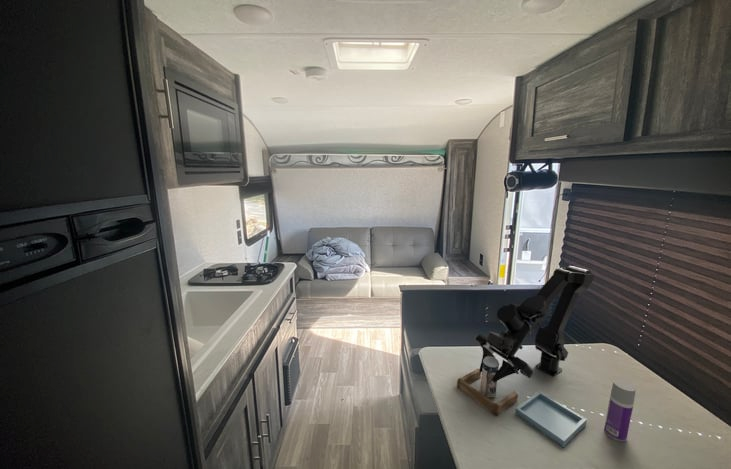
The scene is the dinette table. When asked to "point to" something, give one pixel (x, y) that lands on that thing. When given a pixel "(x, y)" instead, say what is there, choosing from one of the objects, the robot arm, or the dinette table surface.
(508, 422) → the dinette table surface
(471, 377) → the frame
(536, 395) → the tray
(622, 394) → the container
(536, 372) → the dinette table surface
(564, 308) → the robot arm
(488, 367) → the beer can
